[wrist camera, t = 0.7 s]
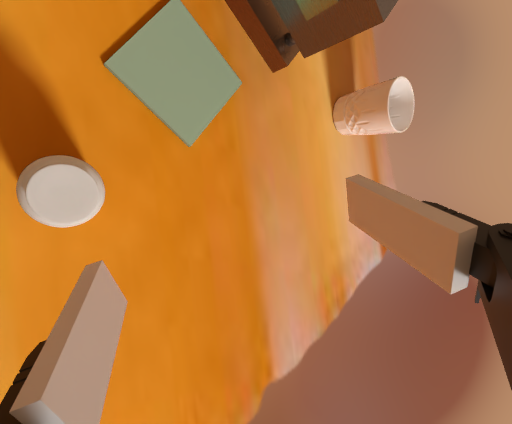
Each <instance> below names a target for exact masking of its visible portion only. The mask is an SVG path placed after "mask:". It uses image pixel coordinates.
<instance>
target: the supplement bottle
mask: <svg viewBox="0 0 512 424" xmlns="http://www.w3.org/2000/svg"><path fill="white" fill-rule="evenodd" d="M16 193H17V198H18V201H19V203H20V205H21V207H22V208H23V210H24V211H25V212H26V213H27V214H28V215H29V216H30V217H32V218H33V219H35V220H36V221H38V222H40V223H43V224H45V225H48V226H53V227H72V226H76V225H80V224H82V223H84V222H86V221H88V220H90V219H91V218H92V217H94V216H95V215H96V214H97V213H98V211H99V210H100V208H101V207H102V205H103V202H104V198H105V187H104V183H103V181H102V179H101V177H100V175H99V174H98V172H97V171H96V170H95V169H94V168H93V167H92V166H90V165H89V164H88V163H86V162H84V161H82V160H80V159H78V158H75V157H71V156H65V155H53V156H47V157H43V158H40V159H38V160H36V161H34V162H32V163H31V164H29V165H28V166H27V167H26V168H25V169H24V170H23V172H22V173H21V175H20V177H19V179H18V182H17V187H16Z"/></svg>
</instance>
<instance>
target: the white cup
mask: <svg viewBox="0 0 512 424" xmlns="http://www.w3.org/2000/svg"><path fill="white" fill-rule="evenodd" d="M413 113H414V93H413V89H412V86H411V84H410V82H409V81H408V79H407V78H405V77H404V76H399V77H396V78H393V79H390V80H387V81H384V82H381V83H378V84H374V85H371V86H368V87H365V88H363V89H360V90H357V91H355V92H353V93H350V94H347V95H344V96H342V97H340V98H338V100H337V102H336V103H335V106H334V111H333V119H334V124H335V127H336V129H337V130H338V131H339V132H340V133H341V134H342V135H371V134H386V133H400V132H404V131H405V130H407V128H408V127H409V125H410V123H411V121H412V118H413Z"/></svg>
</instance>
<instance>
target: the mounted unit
mask: <svg viewBox="0 0 512 424" xmlns="http://www.w3.org/2000/svg"><path fill="white" fill-rule="evenodd" d="M225 1H226V3H227V4H228V6H229V7H230V9H231V10H232V12H233V13H234V15H235V16H236V18H237V19H238V21H239V22H240V24H241V25H242V27H243V28H244V30H245V31H246V33H247V34H248V36H249V37H250V39H251V40H252V42H253V43H254V45H255V46H256V48H257V49H258V51H259V52H260V54H261V55H262V57H263V58H264V60H265V61H266V63H267V64H268V66H269V67H270V69H271V70H272V72H273V73H274V72H276V71H278V70H280V69H282V68H284V67H287V66H288V65H289V64H290V62H291V61H292V60H293V58H294V57H295V56H296V54H297V53H298V52H299V51H300V52H301V53H302V55H303V57H304V58H306V57H308V56H311V55H313V54H315V53H317V52H319V51H321V50H324V49H326V48H328V47H330V46H332V45H334V44H337V43H339V42H341V41H343V40H345V39H348V38H350V37H352V36H354V35H356V34H358V33H361V32H363V31H365V30H367V29H369V28H371V27H374V26H376V25H378V24H380V23H382V22H384V21H385V19H386V18H387V16H388V15H389V13H390V12H391V10H392V9H393V7H394V6H395V4H396V3H397V1H398V0H225Z"/></svg>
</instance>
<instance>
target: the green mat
mask: <svg viewBox="0 0 512 424" xmlns="http://www.w3.org/2000/svg"><path fill="white" fill-rule="evenodd" d="M104 66H105V67H106V68H107V69H108V70H109V71H110V72H111V73H112V74H113V75H115V76H116V77H117V78H118V79H119V80H120V81H121V82H122V83H123V84H124V85H125V86H126V87H127V88H128V89H129V90H130V91H131V92H132V93H133V94H134V95H135V96H136V97H137V98H138V99H139V100H141V101H142V102H143V103H144V104H145V105H146V106H147V107H148V108H149V109H150V110H151V111H152V112H153V113H154V114H155V115H156V116H157V117H158V118H159V119H160V120H161V121H162V122H163V123H164V124H165V125H166V126H168V127H169V128H170V129H171V130H172V131H173V132H174V133H175V134H176V135H177V136H178V137H179V138H180V139H181V140H182V141H183V142H184V143H185V144H186V145H187V146H188V147H190V146H191V145H192V144H193V143H194V142H195V140H196V139H197V138H198V137H199V135H200V134H201V133H202V132H203V131H204V129H205V128H206V127H207V126H208V124H209V123H210V122H211V121H212V120H213V118H214V117H215V116H216V115H217V113H218V112H219V111H220V110H221V109H222V107H223V106H224V105H225V104H226V102H227V101H228V100H229V99H230V98H231V96H232V95H233V94H234V93H235V91H236V90H237V89H238V88H239V87H240V85H241V84H242V82H241V81H240V79H239V78H238V77H237V75H236V74H235V73H234V71H233V70H232V69H231V67H230V66H229V65H228V63H227V62H226V61H225V59H224V58H223V57H222V55H221V54H220V53H219V51H218V50H217V49H216V47H215V46H214V45H213V43H212V42H211V41H210V39H209V38H208V37H207V35H206V34H205V33H204V31H203V30H202V29H201V27H200V26H199V25H198V23H197V22H196V21H195V19H194V18H193V17H192V16H191V14H190V13H189V12H188V10H187V9H186V8H185V6H184V5H183V4H182V2H181V1H180V0H170V1H169V2H168V3H167V4H166V5H165V6H164V7H163V8H162V9H161V10H160V11H159V12H158V13H157V14H156V15H155V16H154V17H153V18H151V19H150V20H149V21H148V22H147V23H146V24H145V25H144V26H143V27H142V28H141V29H140V30H139V31H138V32H137V33H136V34H135V35H134V36H133V37H132V38H130V39H129V40H128V41H127V42H126V43H125V44H124V45H123V46H122V47H121V48H120V49H119V50H118V51H117V52H116V53H115V54H114V55H113V56H112V57H111V58H109V59H108V60H107V61H106V62H105V63H104Z"/></svg>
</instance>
